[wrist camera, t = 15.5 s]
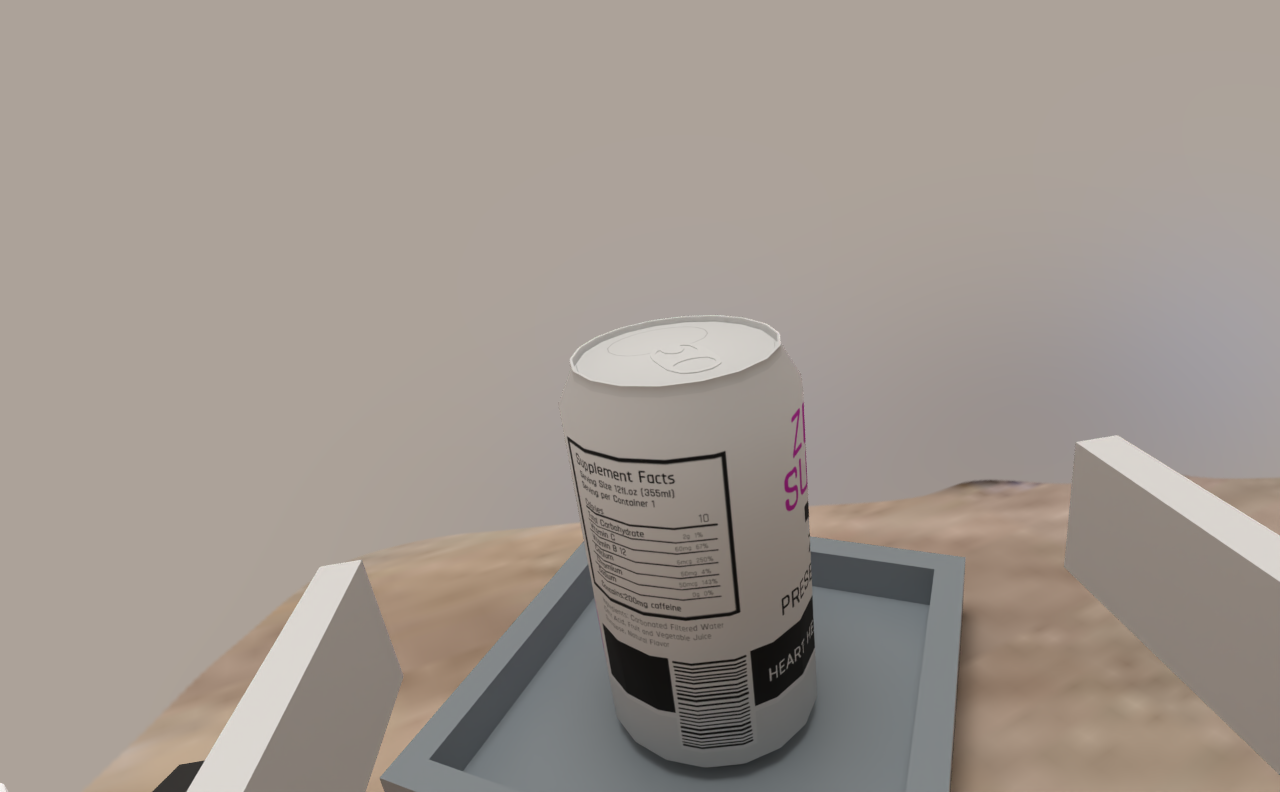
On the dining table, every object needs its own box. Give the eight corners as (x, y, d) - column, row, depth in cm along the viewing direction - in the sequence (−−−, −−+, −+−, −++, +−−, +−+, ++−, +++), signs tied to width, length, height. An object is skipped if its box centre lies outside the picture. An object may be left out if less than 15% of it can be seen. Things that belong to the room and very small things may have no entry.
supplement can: (589, 664, 31) (526, 344, 26) (754, 604, 34) (728, 298, 28) (658, 817, 24) (591, 419, 19) (861, 727, 27) (855, 349, 21)
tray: (962, 611, 33) (965, 557, 32) (932, 1060, 18) (935, 988, 17) (618, 554, 41) (610, 509, 40) (401, 837, 26) (379, 777, 25)
